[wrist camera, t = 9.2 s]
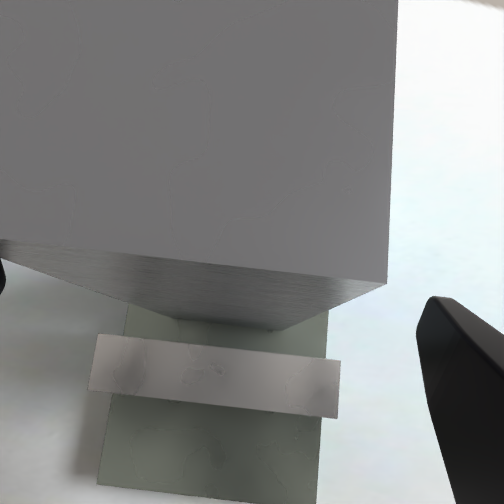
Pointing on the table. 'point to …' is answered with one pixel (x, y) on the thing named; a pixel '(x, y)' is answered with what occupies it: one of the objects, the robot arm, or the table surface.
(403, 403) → the table surface
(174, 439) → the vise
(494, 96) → the table surface
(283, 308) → the steel block
